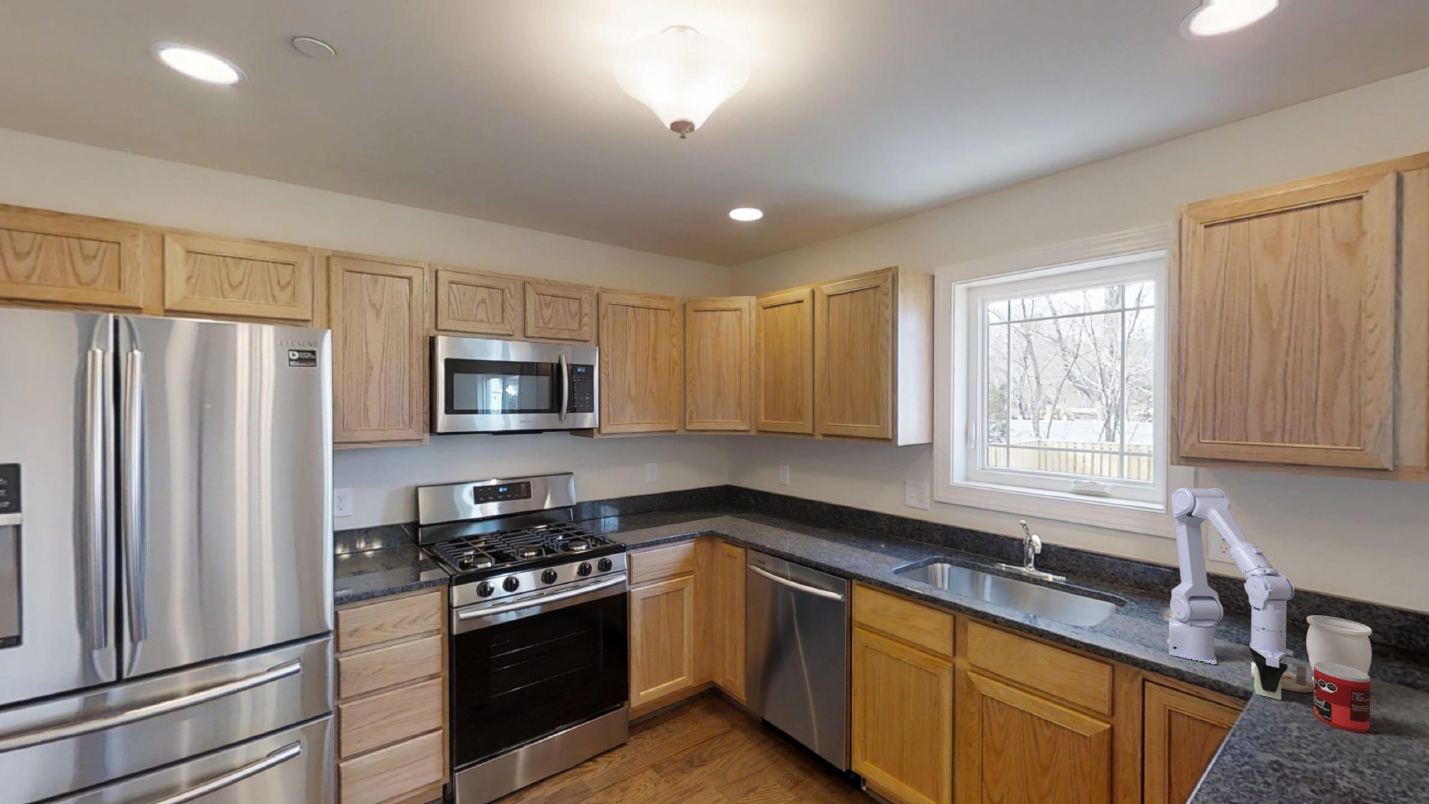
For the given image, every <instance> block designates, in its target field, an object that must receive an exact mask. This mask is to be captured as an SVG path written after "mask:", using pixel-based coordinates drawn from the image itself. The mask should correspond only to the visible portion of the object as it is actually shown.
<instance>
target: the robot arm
mask: <svg viewBox="0 0 1429 804" xmlns="http://www.w3.org/2000/svg"><path fill="white" fill-rule="evenodd" d="M1170 498H1171V507H1172V515H1173V516H1172V517H1173V521H1174V532H1175V539H1176V548H1177V557H1178V564H1179V565H1178V566H1179V573H1180V583H1179V584H1177V586H1175V587H1173V588H1172V589H1171V598H1170V602H1169V607H1170V611H1171V613H1172V614H1173V617H1169V618H1168V637H1167V638H1166V642H1167V644H1166V645H1167V646H1168V655H1170V656H1173V657H1177V656H1178V658H1182V659H1186V658H1187V660H1191V659H1192V660H1191V661H1196V660H1198V661H1197V662H1200V661H1204V662H1203V663H1205V662H1206V664H1209V663H1211V664H1210V665H1214V664H1217V665H1218V663H1217V662H1218V661H1217V657H1216V654H1215V626H1218V622H1220V621H1221V620H1222V619H1223V618H1224V617H1223V616H1224V607H1223V605H1222V603H1221V602H1220V598H1219V592H1217V591H1216V590H1215V589H1213V588H1212V587H1210V586H1209V584H1208V576H1207V567H1206V561H1205V560H1206V559H1205V553H1204V542H1203V536H1202V526H1201V524H1203V522H1205V521H1206V520H1207V521H1209V522H1210V523H1211V524H1212V525H1213V527H1214V528H1215V529H1216V531H1218V533H1219V535H1221V537H1222V538H1223V539H1224V540H1225V542H1226V543H1227V544H1228V545H1229V547H1230V551H1229V553H1228V554H1229V556H1230V557H1231V560H1232V561H1233V563H1234V564H1235V565H1236V566H1237V568H1238V570H1239V571H1240V573H1241V574H1242V576H1243V577H1244V578H1245V581H1246V582H1243V585H1244V590H1245V592H1246V594H1247V595H1248V603H1249V605H1250V606H1251V613H1250V614H1251V619H1250V621H1251V624H1250V625H1251V627H1250V642H1249V647H1248V649H1249V652H1250V654H1251V655H1252V657H1251V658H1252V660H1253V662H1255V664H1256V666H1257V668H1258V671H1259V676H1260V682H1261V686H1262V689H1263V690H1265V691H1269V692H1273V693H1275V692H1276V690H1277V688H1278V684H1279V681H1280V678H1281V676H1282V675H1283V673H1284V672H1287V671H1288V669H1289V666H1288V664H1286V663H1282V662H1281V661H1282V660H1283V659H1284V657H1285V656H1291V657H1292V656H1294V652H1293V650H1292V649H1289V648H1288V649H1287V647H1286V646H1287V644H1286V642H1287V641H1286V640H1287V639H1286V638H1287V601H1290V600H1292V599H1293V598H1294V596H1295V588H1294V587H1295V586H1294V584H1293V583H1292V581H1291V579H1290V578H1289V577H1288V576H1287V575H1285V574H1282V573H1280V571H1279V570H1277V569H1274V567H1273V566H1272V564H1271V563H1270V562H1269V560H1268V559H1267V557H1266V556H1265V555H1264V553H1263V551H1262V549H1261V548H1259V546H1258V545H1256V544H1252V543H1250V542H1248V541H1247V539H1246V537H1245V535H1244V534H1243V532H1242V530H1241V528H1240V527H1239V525H1238V524H1237V521H1236V520H1235V518H1234V516H1233V515H1232V513H1231V511H1230V509H1231V500H1229V498H1227V495H1226V494H1225V492H1224V491H1223V490H1222V489H1219V488H1218V487H1212V488H1211V487H1210V488H1191V487H1189V488H1187V487H1180V488H1179V487H1178V489H1176V490H1175V491H1174V492H1173V493H1172V495H1171V496H1170Z"/></svg>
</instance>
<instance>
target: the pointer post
mask: <svg viewBox="0 0 1429 804" xmlns="http://www.w3.org/2000/svg"><path fill="white" fill-rule="evenodd" d="M1250 665H1251V666H1250V669H1251V670H1250V677H1251V676H1252V677H1254V668H1255V666H1256V664H1255V662H1254V661H1251V663H1250Z"/></svg>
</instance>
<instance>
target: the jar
mask: <svg viewBox="0 0 1429 804" xmlns="http://www.w3.org/2000/svg"><path fill="white" fill-rule="evenodd" d="M1306 622H1307V623H1308V624H1309V627H1308V629H1307V634H1306V638H1305V639H1306V642H1305V644H1306V651H1307V654H1308V661H1309V664H1310V667H1311V670H1312V673H1314V664H1315V663H1316V662H1329V663H1336V664H1340V665H1345V666H1348V667H1351V668H1355V669H1357V670H1360V671H1362V672H1364V673H1366V674H1367V675H1369V670H1370V667H1371V663H1372V659H1373V658H1372V656H1373V655H1372V653H1373V652H1372V644H1371V641H1370V638H1369V636H1371V635H1372V632H1373V631H1372V629H1371V627H1369V626H1367V625H1365V624H1362V623H1359V622H1356V621H1353V620H1349V619H1345V618H1340V617H1334V616H1328V615H1308V616H1307V617H1306ZM1311 681H1312V682H1314V675H1313V676H1312V677H1311Z"/></svg>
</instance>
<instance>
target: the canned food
mask: <svg viewBox="0 0 1429 804" xmlns="http://www.w3.org/2000/svg"><path fill="white" fill-rule="evenodd" d="M1313 676H1314V681H1313V689H1312V692H1313V695H1312V696H1313V701H1312V702H1313V703H1312V704H1313V707H1312V710H1313V714H1314V716H1315V718H1316V719H1318V720H1319V721H1320V722H1322V723H1324V724H1326V725H1329V726H1331V727H1333V728H1337V729H1340V730H1343V731H1346V732H1347V731H1348V732H1353V733H1360V734H1361V733H1367V732H1368V731H1369V729H1370V724H1371V723H1370V722H1371V721H1370V720H1371V717H1370V716H1371V715H1370V714H1371V677H1370V675H1369V674H1368V675H1367V674H1366V673H1364V672H1362V671H1360V670H1357V669H1355V668H1351V667H1348V666H1345V665H1340V664H1336V663H1329V662H1316V663H1315V664H1314V672H1313Z"/></svg>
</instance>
